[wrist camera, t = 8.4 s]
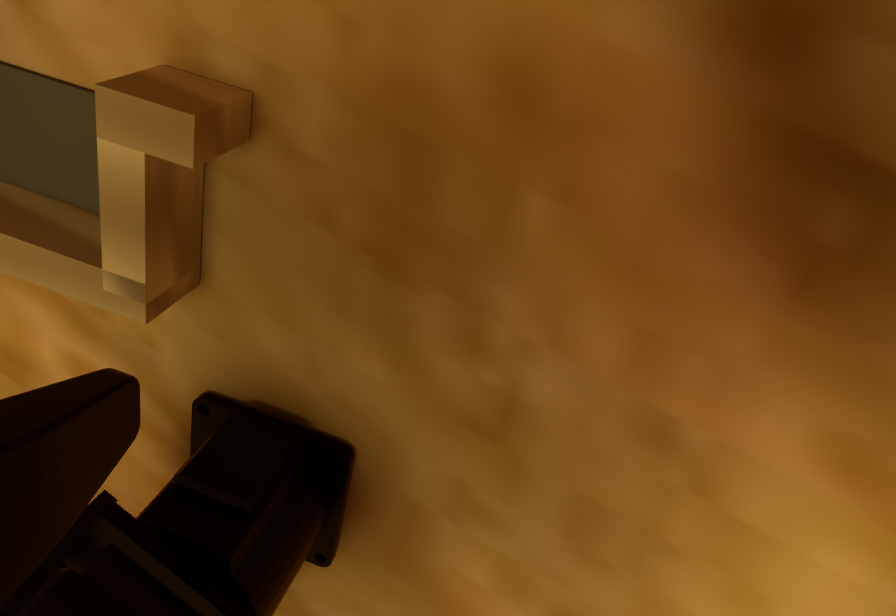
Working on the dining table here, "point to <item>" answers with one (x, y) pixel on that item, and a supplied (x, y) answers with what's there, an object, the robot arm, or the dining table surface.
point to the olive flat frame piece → (131, 197)
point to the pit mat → (48, 137)
